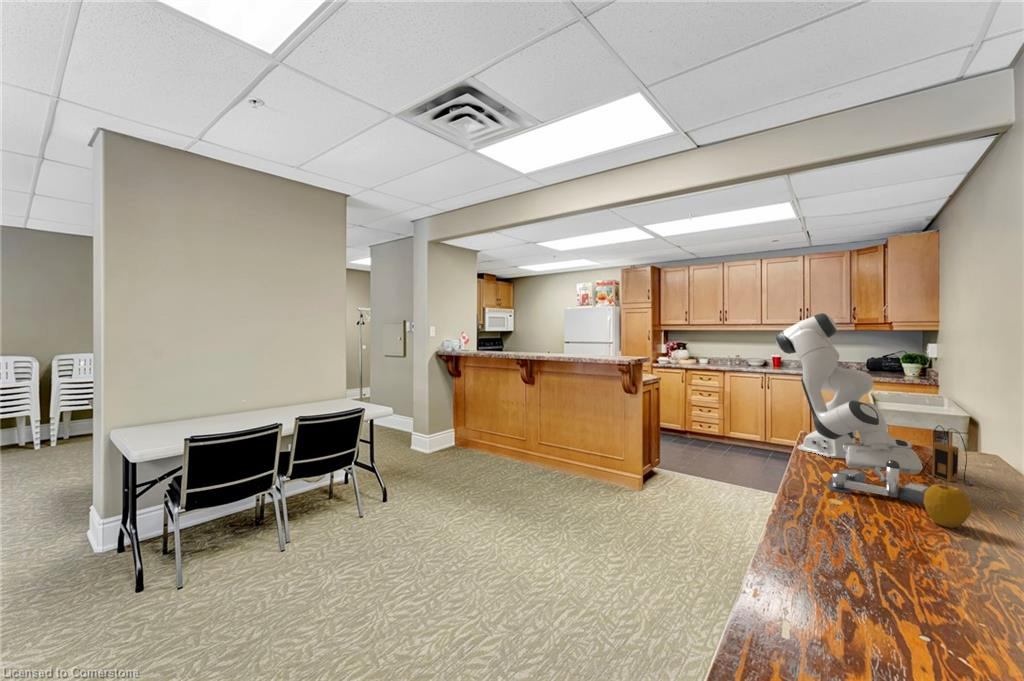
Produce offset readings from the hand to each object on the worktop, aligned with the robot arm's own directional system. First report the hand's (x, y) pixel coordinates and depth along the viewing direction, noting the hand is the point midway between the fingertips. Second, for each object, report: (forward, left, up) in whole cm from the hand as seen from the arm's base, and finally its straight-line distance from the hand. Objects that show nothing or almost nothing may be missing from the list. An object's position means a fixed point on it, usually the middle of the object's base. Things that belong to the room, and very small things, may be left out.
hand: (888, 481), depth 144 cm
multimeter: (+7, +44, -6) cm, 45 cm away
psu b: (-12, +5, -5) cm, 15 cm away
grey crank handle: (-5, -4, -4) cm, 8 cm away
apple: (+17, -12, -6) cm, 21 cm away
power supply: (+6, +6, -5) cm, 10 cm away
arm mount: (-12, -6, -5) cm, 14 cm away
